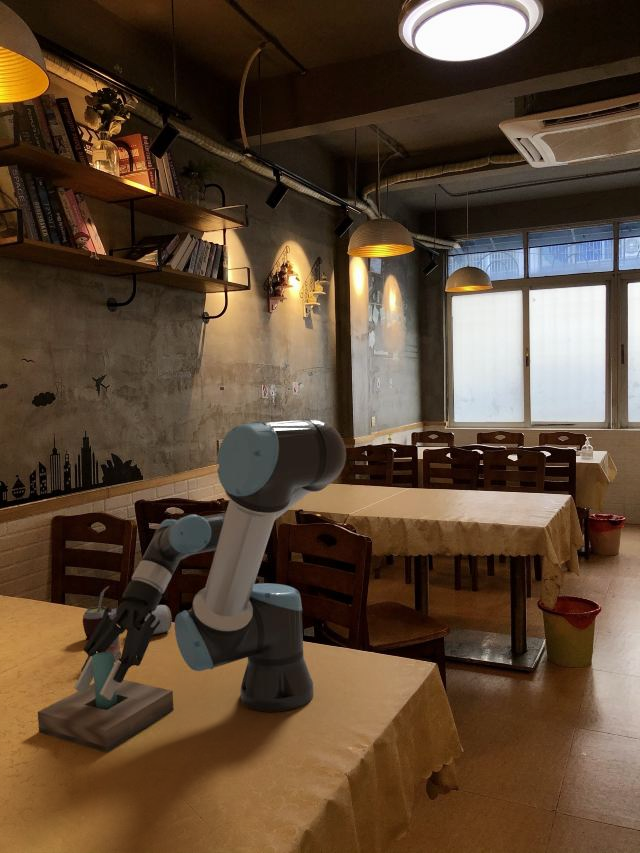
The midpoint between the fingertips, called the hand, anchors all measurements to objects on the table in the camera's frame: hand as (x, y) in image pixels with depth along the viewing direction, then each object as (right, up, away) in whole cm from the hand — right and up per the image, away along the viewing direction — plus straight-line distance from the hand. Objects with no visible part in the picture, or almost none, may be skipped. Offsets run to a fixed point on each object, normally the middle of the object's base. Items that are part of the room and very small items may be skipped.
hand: (91, 693), depth 134 cm
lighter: (-7, -6, +35) cm, 36 cm away
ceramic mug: (-2, -4, +54) cm, 54 cm away
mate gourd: (-15, -5, +50) cm, 52 cm away
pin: (+2, -6, +4) cm, 7 cm away
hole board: (+2, -7, +4) cm, 8 cm away
